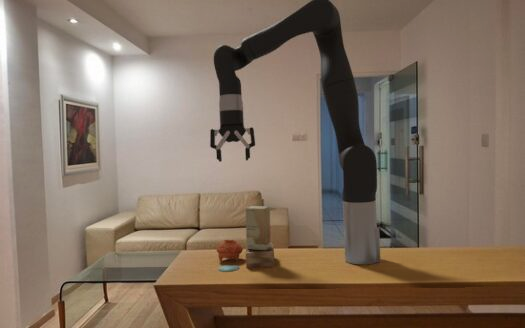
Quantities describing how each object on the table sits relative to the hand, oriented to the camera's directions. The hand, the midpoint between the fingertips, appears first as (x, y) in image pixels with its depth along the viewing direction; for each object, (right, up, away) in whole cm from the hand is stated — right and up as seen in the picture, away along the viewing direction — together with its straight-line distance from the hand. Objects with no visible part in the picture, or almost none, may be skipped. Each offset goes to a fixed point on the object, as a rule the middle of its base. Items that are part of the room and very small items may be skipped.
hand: (233, 160), depth 123 cm
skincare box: (+8, -26, -10) cm, 29 cm away
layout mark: (0, -31, -14) cm, 34 cm away
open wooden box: (+9, -30, -10) cm, 33 cm away
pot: (-1, -31, -6) cm, 31 cm away
